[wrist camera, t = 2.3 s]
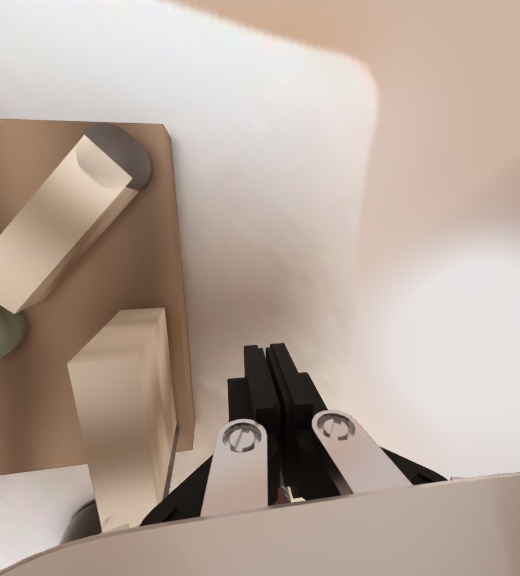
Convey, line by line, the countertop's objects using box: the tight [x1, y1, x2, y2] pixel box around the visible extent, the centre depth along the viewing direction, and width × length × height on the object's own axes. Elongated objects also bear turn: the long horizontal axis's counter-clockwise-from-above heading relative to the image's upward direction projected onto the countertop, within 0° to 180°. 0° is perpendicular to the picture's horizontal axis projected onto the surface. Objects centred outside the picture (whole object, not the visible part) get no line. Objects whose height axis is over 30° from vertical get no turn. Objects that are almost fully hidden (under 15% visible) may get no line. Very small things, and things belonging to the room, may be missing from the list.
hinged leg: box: [67, 307, 179, 534], centre depth 14 cm, size 10×3×6 cm, turn 1°
